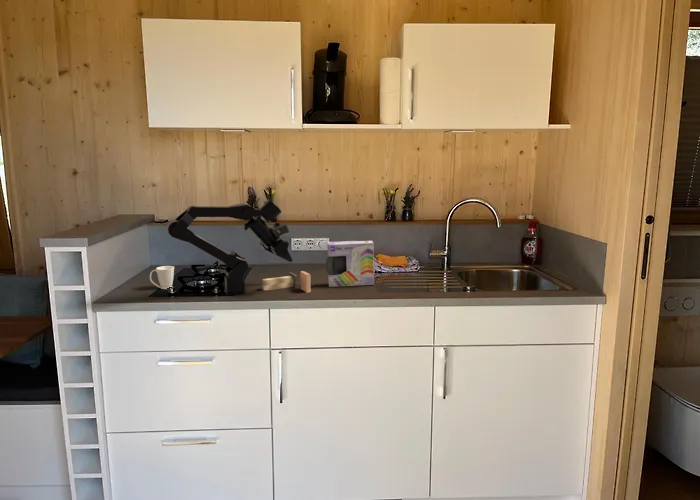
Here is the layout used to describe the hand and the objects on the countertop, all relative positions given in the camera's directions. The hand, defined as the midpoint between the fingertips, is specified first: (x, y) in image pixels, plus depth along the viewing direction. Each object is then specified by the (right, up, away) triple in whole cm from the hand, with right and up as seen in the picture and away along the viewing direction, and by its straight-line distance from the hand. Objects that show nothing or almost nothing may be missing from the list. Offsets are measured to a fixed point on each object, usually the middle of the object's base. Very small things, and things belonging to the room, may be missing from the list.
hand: (287, 259), depth 196 cm
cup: (-49, -11, 0) cm, 50 cm away
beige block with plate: (-3, -11, 0) cm, 12 cm away
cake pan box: (+24, -11, +4) cm, 27 cm away
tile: (+7, -12, -4) cm, 15 cm away
